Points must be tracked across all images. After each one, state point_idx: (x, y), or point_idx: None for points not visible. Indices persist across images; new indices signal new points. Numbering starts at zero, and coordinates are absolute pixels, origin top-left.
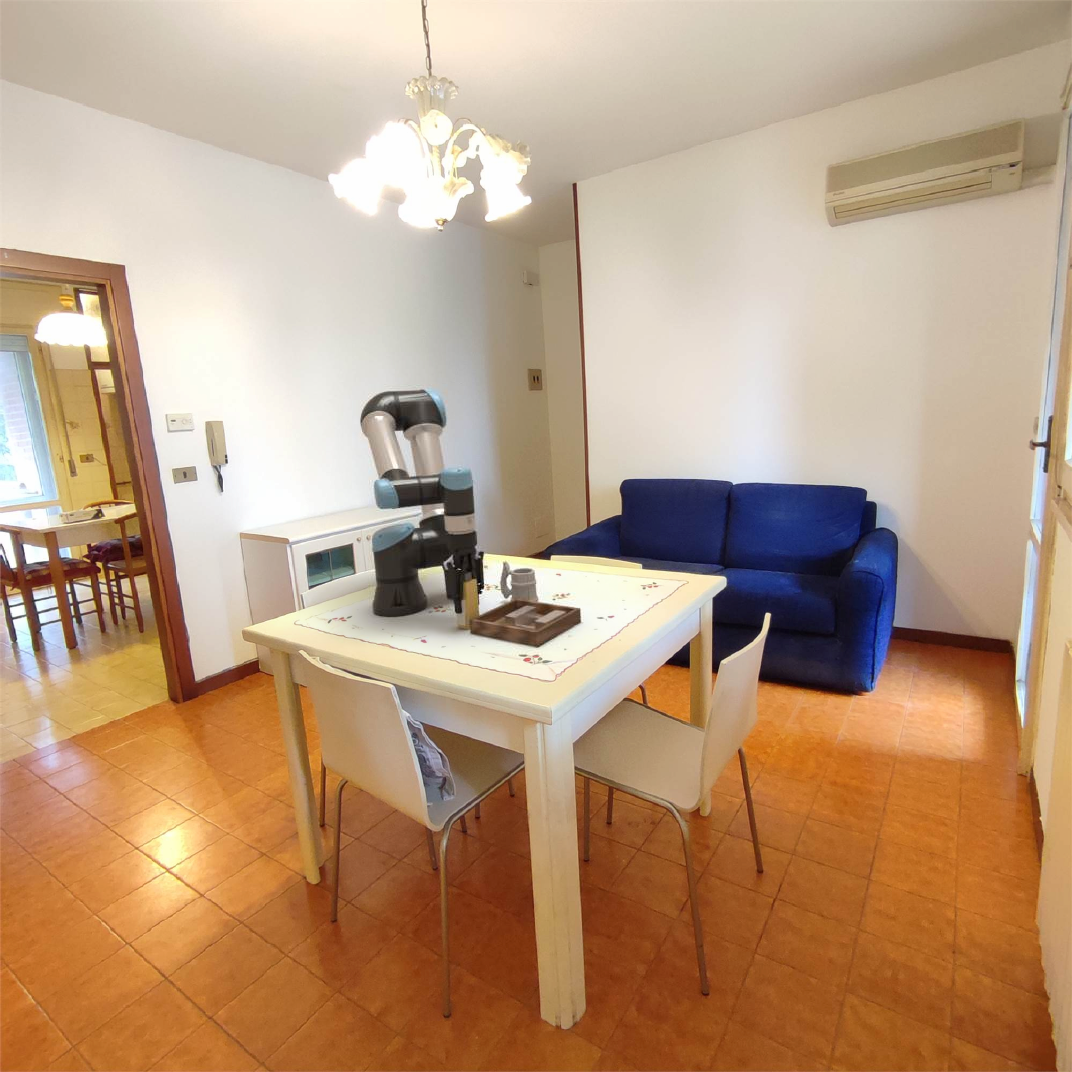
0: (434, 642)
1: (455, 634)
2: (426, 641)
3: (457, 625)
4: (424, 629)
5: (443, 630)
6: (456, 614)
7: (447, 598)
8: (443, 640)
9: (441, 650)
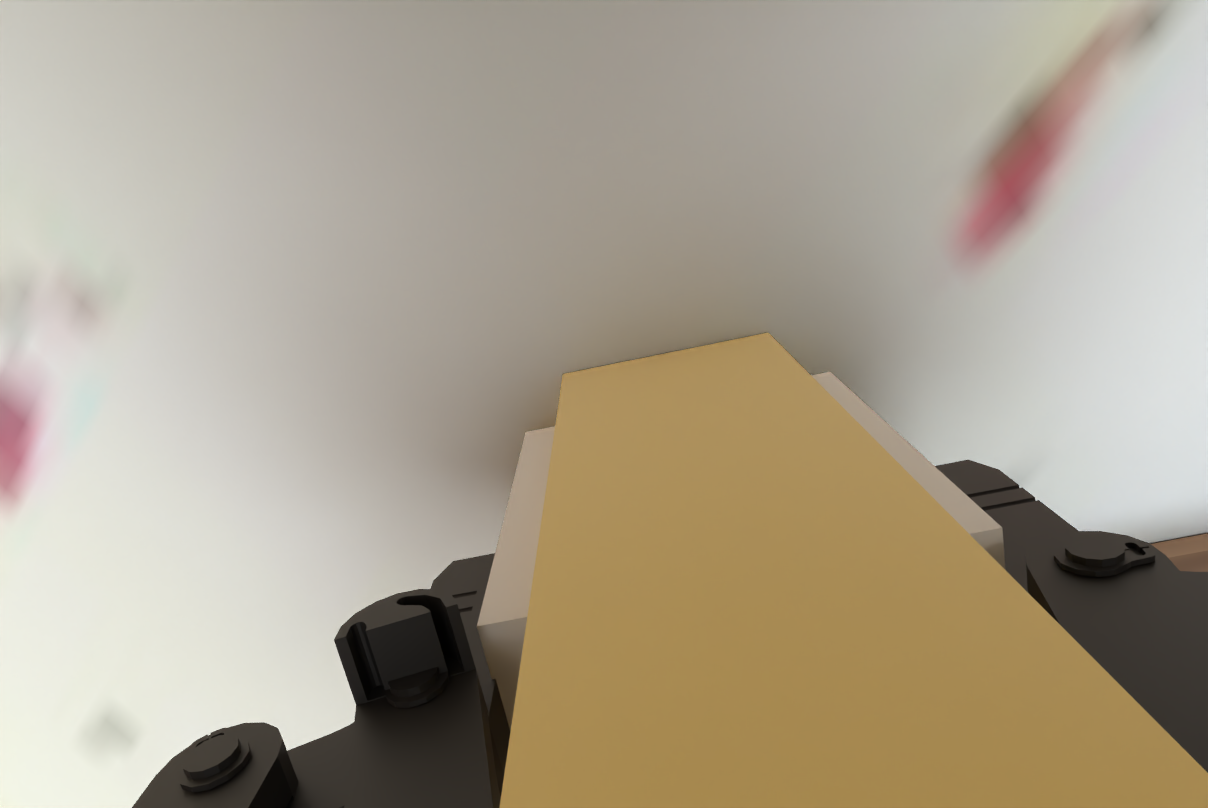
0: (88, 568)
1: (400, 549)
2: (26, 472)
3: (561, 382)
4: (202, 54)
5: (373, 317)
6: (512, 495)
7: (174, 777)
8: (197, 595)
9: (46, 793)
